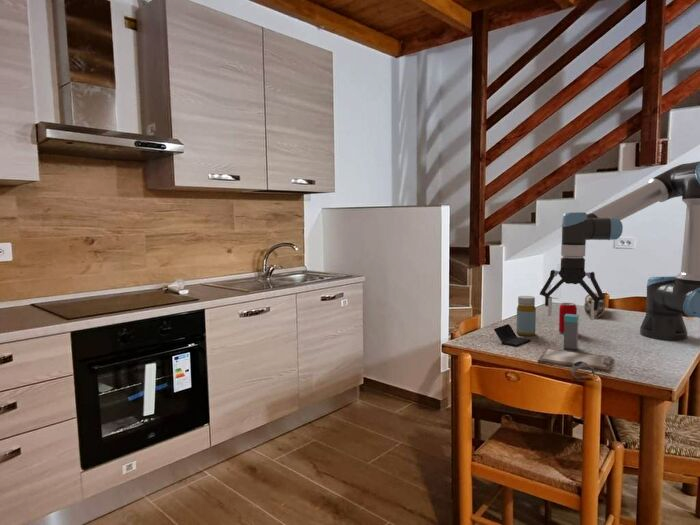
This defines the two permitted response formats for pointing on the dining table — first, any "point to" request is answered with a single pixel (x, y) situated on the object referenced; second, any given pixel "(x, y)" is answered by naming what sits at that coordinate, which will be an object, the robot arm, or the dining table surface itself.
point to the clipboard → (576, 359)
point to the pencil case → (588, 306)
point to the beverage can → (565, 309)
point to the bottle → (526, 316)
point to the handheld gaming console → (509, 336)
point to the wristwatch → (578, 366)
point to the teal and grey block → (571, 332)
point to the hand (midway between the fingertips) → (570, 317)
